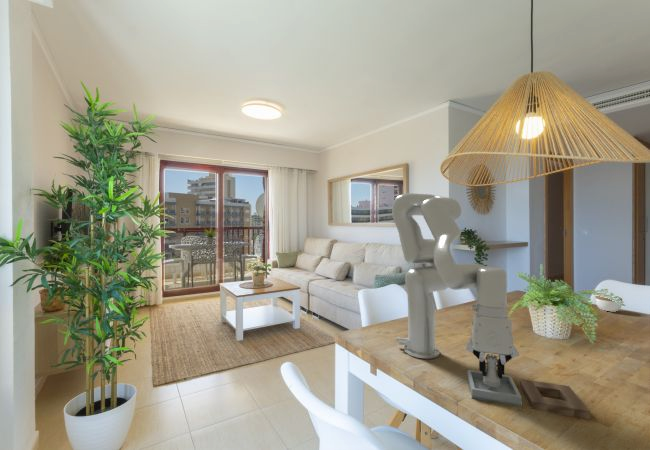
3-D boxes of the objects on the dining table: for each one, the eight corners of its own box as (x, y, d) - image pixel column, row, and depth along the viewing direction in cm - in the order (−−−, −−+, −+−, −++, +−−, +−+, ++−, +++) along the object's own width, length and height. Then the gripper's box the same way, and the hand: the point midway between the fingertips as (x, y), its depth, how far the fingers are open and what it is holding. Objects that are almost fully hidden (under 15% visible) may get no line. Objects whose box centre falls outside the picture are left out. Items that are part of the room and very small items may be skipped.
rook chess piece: (494, 379, 87) (494, 352, 87) (504, 388, 82) (504, 359, 82) (479, 380, 87) (479, 352, 87) (488, 388, 82) (488, 359, 82)
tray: (472, 398, 81) (472, 389, 81) (467, 377, 92) (467, 369, 92) (521, 407, 77) (521, 397, 77) (510, 384, 88) (510, 376, 88)
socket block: (531, 409, 76) (531, 401, 76) (519, 385, 87) (519, 378, 87) (590, 419, 72) (590, 411, 72) (569, 393, 83) (569, 386, 83)
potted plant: (591, 307, 169) (590, 291, 169) (614, 309, 166) (613, 292, 166) (603, 313, 158) (602, 295, 158) (627, 314, 156) (627, 296, 156)
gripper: (460, 311, 84) (460, 376, 84) (529, 317, 78) (529, 387, 78) (458, 304, 91) (458, 364, 91) (521, 310, 85) (521, 373, 85)
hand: (491, 374), depth 85 cm, fingers closed on rook chess piece, 3 cm apart
